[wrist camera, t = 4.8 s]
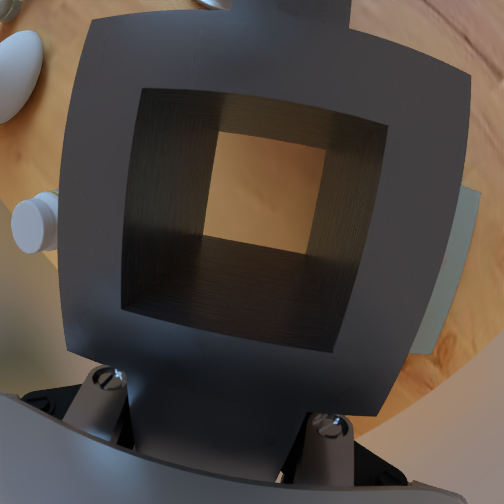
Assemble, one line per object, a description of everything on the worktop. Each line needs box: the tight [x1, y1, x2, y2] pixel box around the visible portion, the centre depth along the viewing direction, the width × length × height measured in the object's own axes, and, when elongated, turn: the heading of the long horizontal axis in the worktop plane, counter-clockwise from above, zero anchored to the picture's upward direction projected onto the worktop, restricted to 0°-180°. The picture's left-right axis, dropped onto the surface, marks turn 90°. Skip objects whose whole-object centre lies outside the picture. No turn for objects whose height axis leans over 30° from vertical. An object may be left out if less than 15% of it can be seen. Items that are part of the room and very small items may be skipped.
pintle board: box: [409, 186, 481, 355], centre depth 21 cm, size 20×15×6 cm
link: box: [57, 0, 471, 483], centre depth 8 cm, size 18×6×6 cm, turn 170°
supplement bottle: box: [11, 189, 59, 254], centre depth 22 cm, size 5×5×8 cm
